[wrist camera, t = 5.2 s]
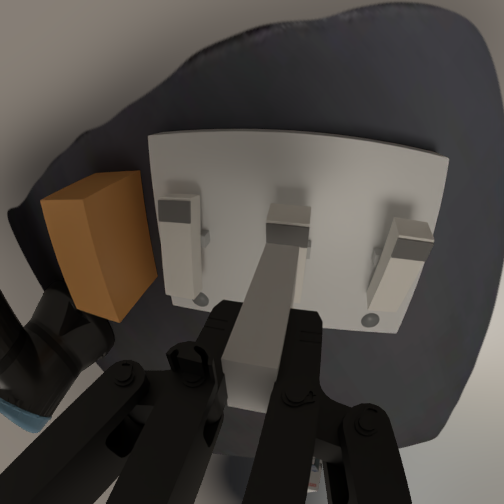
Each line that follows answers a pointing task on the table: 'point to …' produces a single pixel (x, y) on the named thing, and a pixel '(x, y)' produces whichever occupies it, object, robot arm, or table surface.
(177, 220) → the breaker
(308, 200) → the panel
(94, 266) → the brown block
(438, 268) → the table surface
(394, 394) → the table surface
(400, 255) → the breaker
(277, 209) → the block
